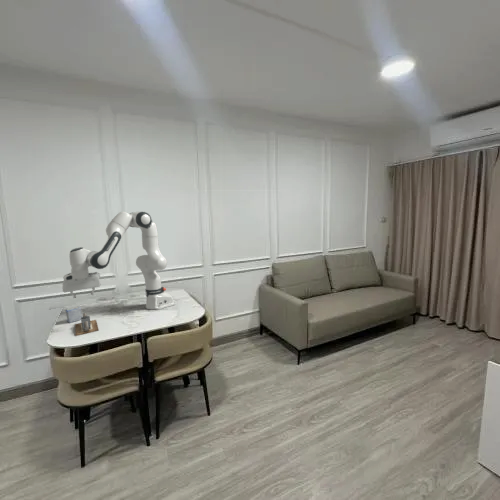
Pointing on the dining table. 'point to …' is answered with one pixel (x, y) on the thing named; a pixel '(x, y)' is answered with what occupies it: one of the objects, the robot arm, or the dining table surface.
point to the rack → (86, 327)
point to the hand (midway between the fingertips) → (83, 296)
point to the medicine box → (73, 314)
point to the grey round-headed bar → (85, 318)
